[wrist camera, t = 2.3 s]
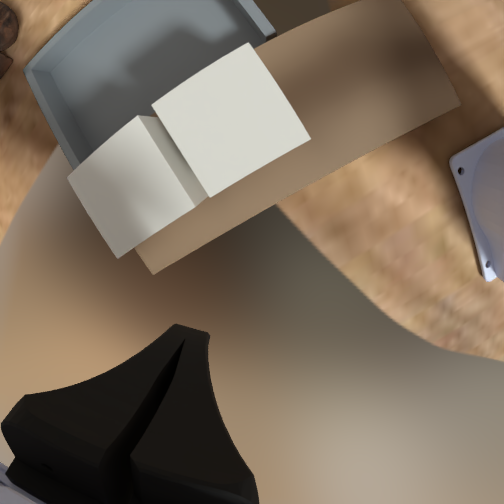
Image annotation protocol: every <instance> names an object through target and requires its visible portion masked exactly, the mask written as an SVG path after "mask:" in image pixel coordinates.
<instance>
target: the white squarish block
mask: <svg viewBox="0 0 504 504" xmlns="http://www.w3.org/2000/svg"><path fill="white" fill-rule="evenodd" d="M67 179H68V181H69V183H70V184H71V186H72V188H73V190H74V191H75V193H76V195H77V196H78V198H79V200H80V201H81V203H82V205H83V206H84V208H85V210H86V211H87V213H88V214H89V216H90V218H91V219H92V221H93V222H94V224H95V225H96V227H97V229H98V230H99V232H100V233H101V235H102V236H103V238H104V239H105V241H106V242H107V244H108V245H109V247H110V248H111V250H112V251H113V253H114V254H115V256H116V257H117V258H119V257H121V256H122V255H124V254H125V253H127V252H128V251H129V250H131V249H132V248H134V247H135V246H137V245H138V244H140V243H141V242H143V241H144V240H146V239H147V238H149V237H150V236H152V235H153V234H155V233H156V232H158V231H159V230H161V229H162V228H164V227H165V226H167V225H168V224H170V223H171V222H173V221H175V220H176V219H178V218H179V217H181V216H182V215H184V214H185V213H187V212H189V211H190V210H192V209H193V208H195V207H196V206H197V205H198V204H200V203H201V202H202V201H203V200H204V199H205V198H207V197H208V194H207V192H206V191H205V189H204V188H203V186H202V185H201V183H200V181H199V180H198V178H197V177H196V175H195V174H194V172H193V170H192V169H191V167H190V166H189V164H188V162H187V161H186V159H185V158H184V156H183V155H182V153H181V151H180V150H179V148H178V147H177V145H176V143H175V142H174V140H173V139H172V137H171V136H170V134H169V132H168V131H167V129H166V128H165V126H164V124H163V123H162V121H161V120H160V118H159V117H150V116H140V115H137V116H136V117H135V118H134V119H132V120H131V121H130V122H129V123H127V124H126V125H125V126H124V127H122V128H121V129H120V130H119V131H118V132H116V133H115V134H114V135H113V136H112V137H110V138H109V139H108V140H107V141H106V142H105V143H103V144H102V145H101V146H100V147H99V148H98V149H97V150H95V151H94V152H93V153H92V154H91V155H90V156H89V157H88V158H87V159H86V160H84V161H83V162H82V163H81V164H80V165H79V166H78V167H77V168H76V169H75V170H74V171H73V172H72V173H71V174H70V175H69V176H68V177H67Z"/></svg>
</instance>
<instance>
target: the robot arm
mask: <svg viewBox="0 0 504 504" xmlns="http://www.w3.org/2000/svg"><path fill="white" fill-rule="evenodd" d="M449 164H450V168H451V170H452V173H453V176H454V178H455V181H456V184H457V187H458V189H459V192H460V195H461V198H462V201H463V204H464V207H465V210H466V214H467V217H468V220H469V224H470V227H471V230H472V234H473V238H474V241H475V245H476V249H477V253H478V257H479V261H480V266H481V270H482V275H483V278H484V279H485V280H486V281H487V282H490V281H492V280H493V279H495V278H496V277H498V278H499V279H501V280H502V281H503V282H504V127H503V128H501V129H499V130H497V131H496V132H494V133H492V134H490V135H489V136H487V137H485V138H483V139H482V140H480V141H478V142H476V143H474V144H473V145H471V146H469V147H467V148H466V149H464V150H462V151H460V152H458V153H457V154H455V155H453V156H452V157H451V158H450V161H449ZM459 167H461V173H460V174H459V173H458V168H459ZM487 261H488V263H487V265H485V264H486V262H487ZM209 339H210V335H209V334H208V332H204V331H200V330H196V329H193V328H189V327H186V326H182V325H178V324H174V325H172V326H171V327H170V328H169V329H168V330H167V331H166V332H165V333H163V334H162V335H161V336H160V337H159V338H157V339H156V340H155V341H154V342H153V343H151V344H150V345H148V346H147V347H146V348H144V349H143V350H142V351H141V352H139V353H137V354H136V355H134V356H133V357H131V358H130V359H128V360H127V361H125V362H123V363H122V364H120V365H118V366H116V367H114V368H113V369H111V370H109V371H107V372H105V373H103V374H100V375H98V376H96V377H93V378H91V379H89V380H87V381H84V382H81V383H78V384H75V385H72V386H68V387H65V388H61V389H57V390H52V391H47V392H41V393H35V394H27V395H24V397H22V398H21V399H20V401H18V402H17V404H16V405H15V406H14V407H13V408H12V410H11V411H10V412H9V414H8V415H7V416H6V418H5V419H4V420H3V422H2V423H1V430H2V433H3V435H4V437H5V440H6V441H7V443H8V445H9V447H10V449H11V450H12V452H13V454H14V455H15V458H14V460H13V462H12V463H11V465H10V466H9V468H8V467H7V466H5V465H4V464H2V463H1V462H0V504H259V497H258V491H257V486H256V482H255V478H254V475H253V473H252V472H251V470H250V469H249V468H248V466H247V465H246V463H245V462H244V460H243V459H242V457H241V456H240V454H239V452H238V450H237V449H236V447H235V445H234V443H233V441H232V439H231V437H230V435H229V433H228V431H227V429H226V427H225V424H224V422H223V420H222V417H221V415H220V412H219V409H218V406H217V403H216V399H215V396H214V392H213V387H212V383H211V378H210V371H209V362H208V344H209Z"/></svg>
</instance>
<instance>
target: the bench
mask: <svg viewBox="0 0 504 504" xmlns="http://www.w3.org/2000/svg"><path fill="white" fill-rule="evenodd" d="M254 51H255V52H256V53H257V55H258V56H259V58H260V59H261V61H262V62H263V64H264V65H265V67H266V68H267V70H268V71H269V72H270V74H271V75H272V77H273V78H274V80H275V82H276V83H277V85H278V86H279V88H280V89H281V91H282V92H283V94H284V95H285V97H286V99H287V100H288V102H289V103H290V105H291V106H292V108H293V110H294V111H295V113H296V115H297V116H298V118H299V119H300V121H301V123H302V124H303V126H304V128H305V129H306V131H307V133H308V134H309V136H310V138H311V139H310V140H309V141H307V142H305V143H303V144H301V145H300V146H298V147H296V148H294V149H292V150H291V151H289V152H287V153H285V154H283V155H282V156H280V157H278V158H276V159H275V160H273V161H271V162H269V163H268V164H266V165H264V166H263V167H261V168H259V169H257V170H256V171H254V172H252V173H251V174H249V175H247V176H245V177H244V178H242V179H240V180H239V181H237V182H235V183H234V184H232V185H230V186H229V187H227V188H225V189H224V190H222V191H221V192H219V193H217V194H216V195H214V196H212V197H211V198H210V197H209V196H208V197H207V198H205V199H204V200H203V201H202V202H201V203H200V204H198V205H197V206H196V207H195V208H193V209H192V210H190V211H189V212H187V213H185V214H184V215H182V216H181V217H179V218H178V219H176V220H175V221H173V222H171V223H170V224H168V225H167V226H165V227H164V228H162V229H161V230H159V231H158V232H156V233H155V234H153V235H152V236H150V237H149V238H147V239H146V240H144V241H143V242H141V243H140V244H138V245H137V246H135V247H134V248H135V249H136V251H137V253H138V254H139V255H140V257H141V258H142V260H143V261H144V263H145V264H146V266H147V267H148V268H149V270H150V271H151V273H152V274H153V275H154V274H155V273H157V272H159V271H160V270H162V269H164V268H165V267H167V266H169V265H170V264H172V263H174V262H176V261H177V260H179V259H181V258H182V257H184V256H186V255H187V254H189V253H191V252H192V251H194V250H196V249H198V248H199V247H201V246H203V245H204V244H206V243H208V242H209V241H211V240H212V239H215V238H216V237H218V236H220V235H221V234H223V233H224V232H227V231H228V230H230V229H232V228H233V227H235V226H237V225H239V224H240V223H242V222H244V221H246V220H247V219H249V218H251V217H253V216H255V215H256V214H258V213H260V212H261V211H263V210H265V209H267V208H269V207H270V206H272V205H274V204H276V203H278V202H279V201H281V200H283V199H285V198H286V197H288V196H290V195H292V194H294V193H295V192H297V191H299V190H301V189H303V188H304V187H306V186H308V185H310V184H312V183H314V182H315V181H317V180H319V179H321V178H323V177H324V176H326V175H328V174H330V173H332V172H334V171H335V170H337V169H339V168H341V167H343V166H345V165H347V164H348V163H350V162H352V161H354V160H356V159H358V158H360V157H361V156H363V155H365V154H367V153H369V152H371V151H373V150H375V149H377V148H378V147H380V146H382V145H384V144H386V143H388V142H390V141H392V140H394V139H396V138H397V137H399V136H401V135H403V134H405V133H407V132H409V131H411V130H413V129H415V128H417V127H419V126H421V125H423V124H425V123H427V122H429V121H430V120H432V119H434V118H436V117H438V116H440V115H442V114H444V113H446V112H448V111H450V110H452V109H454V108H456V107H458V106H460V105H461V102H460V100H459V98H458V96H457V94H456V92H455V90H454V88H453V86H452V84H451V82H450V80H449V78H448V76H447V74H446V72H445V70H444V68H443V66H442V64H441V63H440V61H439V59H438V57H437V55H436V54H435V52H434V50H433V48H432V47H431V45H430V43H429V42H428V40H427V38H426V37H425V35H424V34H423V32H422V30H421V29H420V27H419V26H418V24H417V23H416V21H415V20H414V18H413V17H412V15H411V14H410V12H409V11H408V9H407V8H406V6H405V5H404V4H403V2H402V1H401V0H360V1H357V2H355V3H352V4H349V5H347V6H344V7H342V8H339V9H337V10H334V11H332V12H329V13H327V14H325V15H322V16H320V17H318V18H315V19H313V20H311V21H309V22H306V23H304V24H302V25H300V26H298V27H296V28H294V29H291V30H289V31H288V32H285V33H283V34H281V35H279V36H277V37H275V38H273V39H271V40H270V41H268V42H266V43H264V44H262V45H260V46H258V47H256V48H254ZM150 117H158V115H157V113H156V112H155V113H153V114H152V115H151V116H150Z"/></svg>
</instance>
